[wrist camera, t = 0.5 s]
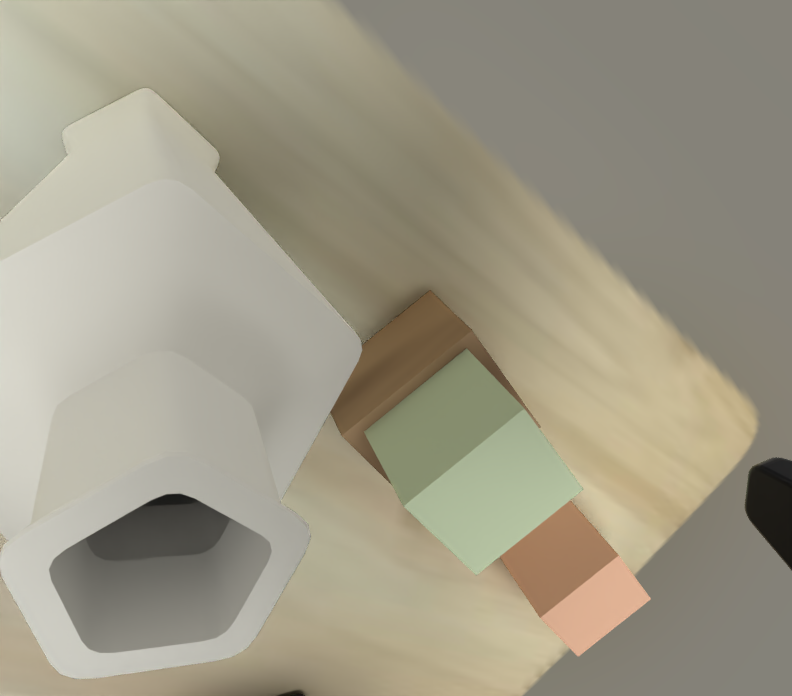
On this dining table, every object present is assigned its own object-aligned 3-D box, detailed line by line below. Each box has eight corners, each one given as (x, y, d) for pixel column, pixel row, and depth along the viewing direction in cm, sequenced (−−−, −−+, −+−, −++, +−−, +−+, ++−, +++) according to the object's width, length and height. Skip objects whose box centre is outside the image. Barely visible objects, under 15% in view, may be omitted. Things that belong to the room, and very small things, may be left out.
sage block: (523, 424, 22) (583, 489, 19) (431, 499, 22) (476, 575, 19) (466, 348, 20) (524, 408, 17) (363, 431, 20) (403, 506, 17)
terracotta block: (596, 536, 31) (650, 598, 28) (531, 587, 31) (578, 656, 28) (563, 492, 29) (618, 555, 26) (494, 548, 29) (540, 618, 26)
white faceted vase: (2, 172, 16) (-429, 710, 4) (119, 42, 16) (66, 167, 3) (153, 284, 19) (191, 832, 6) (257, 174, 18) (518, 524, 6)
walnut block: (493, 378, 25) (541, 427, 22) (392, 459, 25) (426, 519, 22) (428, 287, 22) (471, 330, 19) (314, 379, 22) (341, 435, 19)
